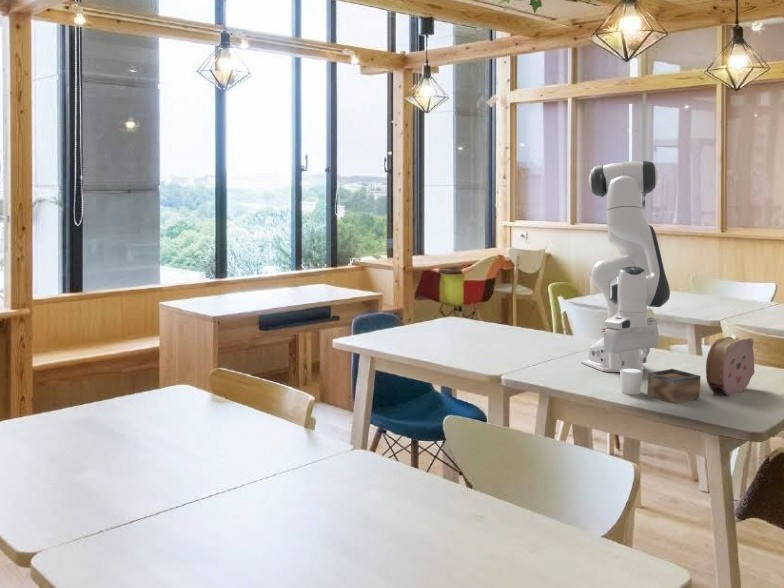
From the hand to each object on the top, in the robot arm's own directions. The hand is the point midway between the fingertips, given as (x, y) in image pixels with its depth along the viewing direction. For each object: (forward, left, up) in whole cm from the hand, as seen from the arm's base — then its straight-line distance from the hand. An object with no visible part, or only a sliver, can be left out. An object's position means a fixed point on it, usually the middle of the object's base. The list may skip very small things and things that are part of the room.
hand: (631, 364), depth 249 cm
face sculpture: (+14, +28, -9) cm, 32 cm away
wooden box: (+10, +8, -9) cm, 15 cm away
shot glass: (-1, +1, -9) cm, 9 cm away
